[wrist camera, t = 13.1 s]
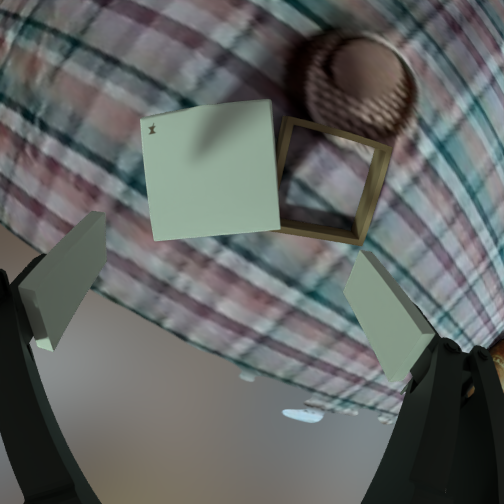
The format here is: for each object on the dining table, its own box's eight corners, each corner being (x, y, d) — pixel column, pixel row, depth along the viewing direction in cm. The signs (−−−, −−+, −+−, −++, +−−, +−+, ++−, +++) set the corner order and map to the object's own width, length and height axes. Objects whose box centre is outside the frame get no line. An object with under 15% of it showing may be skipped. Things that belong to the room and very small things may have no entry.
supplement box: (194, 215, 34) (148, 244, 19) (187, 139, 31) (135, 115, 17) (272, 208, 33) (283, 233, 19) (266, 130, 31) (271, 95, 16)
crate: (283, 115, 32) (288, 116, 29) (381, 144, 34) (392, 147, 31) (259, 220, 37) (262, 230, 35) (353, 236, 40) (362, 246, 37)
